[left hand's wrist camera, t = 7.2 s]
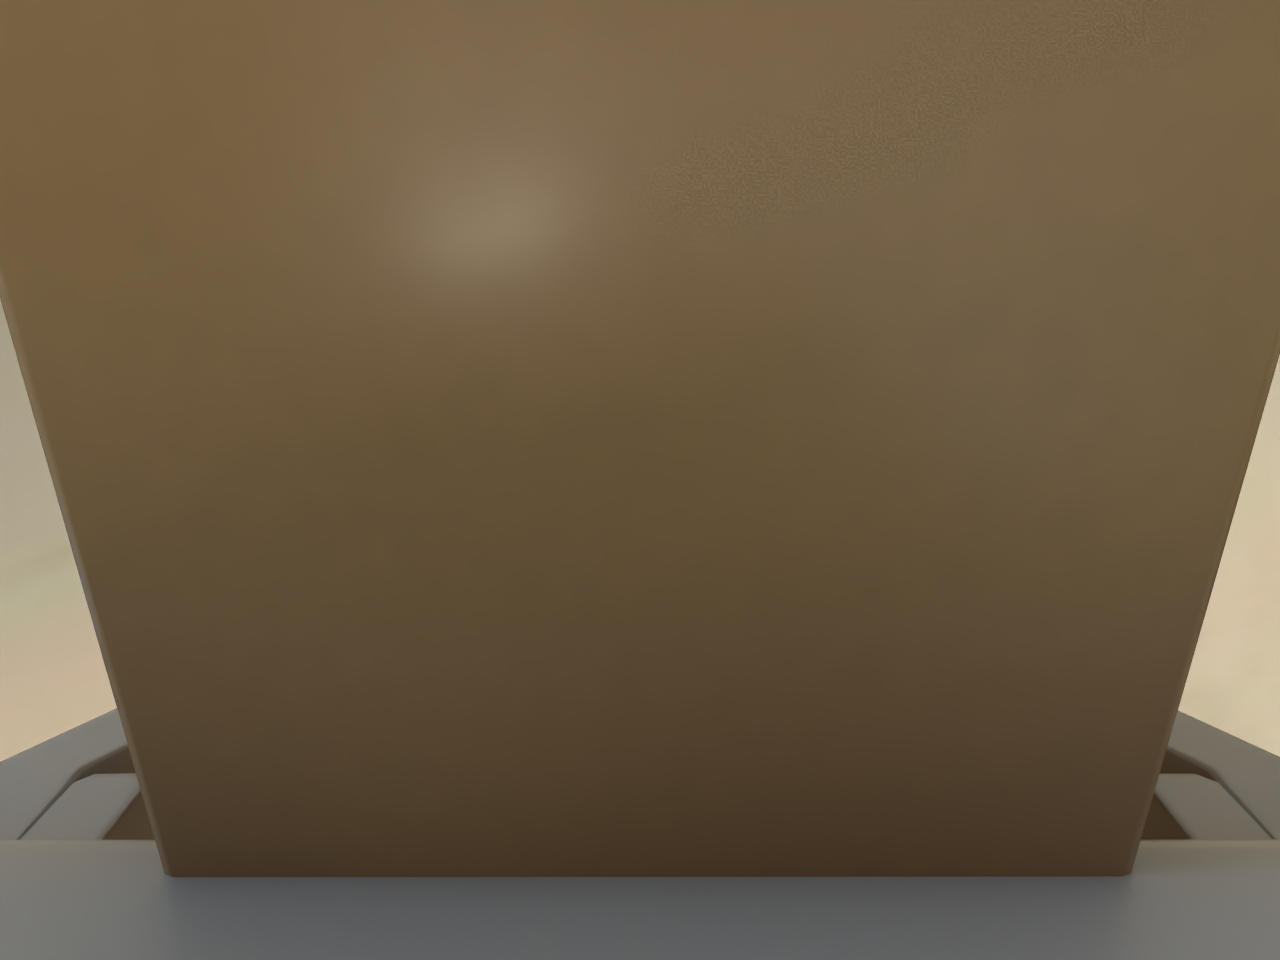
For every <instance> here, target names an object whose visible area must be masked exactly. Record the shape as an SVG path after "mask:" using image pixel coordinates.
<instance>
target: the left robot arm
mask: <svg viewBox="0 0 1280 960" xmlns="http://www.w3.org/2000/svg"><path fill="white" fill-rule="evenodd" d="M0 960H1280V757H1278V756H1276V755H1274V754H1272V753H1270V752H1267V751H1265V750H1263V749H1261V748H1259V747H1257V746H1254V745H1252V744H1250V743H1248V742H1246V741H1243V740H1241V739H1239V738H1237V737H1235V736H1232V735H1230V734H1228V733H1226V732H1224V731H1222V730H1219V729H1217V728H1215V727H1213V726H1211V725H1208V724H1206V723H1204V722H1202V721H1200V720H1198V719H1195V718H1193V717H1191V716H1189V715H1187V714H1184V713H1182V712H1180V711H1177V714H1176V718H1175V721H1174V725H1173V728H1172V732H1171V735H1170V739H1169V742H1168V746H1167V749H1166V753H1165V756H1164V760H1163V763H1162V767H1161V770H1160V774H1159V777H1158V781H1157V784H1156V788H1155V791H1154V795H1153V798H1152V802H1151V805H1150V809H1149V812H1148V816H1147V819H1146V823H1145V826H1144V830H1143V833H1142V837H1141V840H1140V844H1139V847H1138V851H1137V854H1136V858H1135V861H1134V865H1133V868H1132V872H1131V873H1130V874H1127V875H1125V876H1111V877H172V876H169V875H166V874H164V870H163V867H162V863H161V860H160V856H159V853H158V849H157V846H156V842H155V839H154V835H153V831H152V828H151V824H150V821H149V817H148V814H147V810H146V807H145V803H144V800H143V796H142V793H141V789H140V786H139V782H138V779H137V775H136V772H135V768H134V765H133V761H132V758H131V754H130V751H129V747H128V744H127V740H126V737H125V733H124V730H123V726H122V723H121V719H120V716H119V712H118V709H114V710H112V711H110V712H108V713H106V714H104V715H101V716H99V717H97V718H95V719H93V720H90V721H88V722H86V723H84V724H82V725H80V726H77V727H75V728H73V729H71V730H69V731H67V732H64V733H62V734H60V735H58V736H56V737H54V738H51V739H49V740H47V741H45V742H43V743H41V744H38V745H36V746H34V747H32V748H30V749H28V750H25V751H23V752H21V753H19V754H17V755H14V756H12V757H10V758H8V759H6V760H4V761H1V762H0Z"/></svg>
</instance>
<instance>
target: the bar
mask: <svg viewBox="0 0 1280 960" xmlns="http://www.w3.org/2000/svg"><path fill="white" fill-rule="evenodd" d="M0 299H1V302H2V306H3V309H4V313H5V316H6V320H7V323H8V327H9V330H10V334H11V337H12V341H13V344H14V348H15V351H16V355H17V358H18V362H19V365H20V369H21V372H22V376H23V379H24V383H25V386H26V390H27V393H28V397H29V400H30V404H31V407H32V411H33V414H34V418H35V421H36V425H37V428H38V432H39V435H40V439H41V442H42V446H43V449H44V453H45V456H46V460H47V463H48V467H49V470H50V474H51V478H52V481H53V485H54V488H55V492H56V495H57V499H58V502H59V506H60V509H61V513H62V516H63V520H64V523H65V527H66V530H67V534H68V537H69V541H70V544H71V548H72V551H73V555H74V558H75V562H76V565H77V569H78V572H79V576H80V579H81V583H82V586H83V590H84V593H85V597H86V600H87V604H88V607H89V611H90V614H91V618H92V621H93V625H94V628H95V632H96V635H97V639H98V642H99V646H100V649H101V653H102V656H103V660H104V663H105V667H106V670H107V674H108V677H109V681H110V684H111V688H112V691H113V695H114V698H115V702H116V705H117V709H118V712H119V716H120V719H121V723H122V726H123V730H124V733H125V737H126V740H127V744H128V747H129V751H130V754H131V758H132V761H133V765H134V768H135V772H136V775H137V779H138V782H139V786H140V789H141V793H142V796H143V800H144V803H145V807H146V810H147V814H148V817H149V821H150V824H151V828H152V831H153V835H154V839H155V842H156V846H157V849H158V853H159V856H160V860H161V863H162V867H163V870H164V874H166V875H169V876H172V877H1111V876H1125V875H1127V874H1130V873H1131V872H1132V868H1133V865H1134V861H1135V858H1136V854H1137V851H1138V847H1139V844H1140V840H1141V837H1142V833H1143V830H1144V826H1145V823H1146V819H1147V816H1148V812H1149V809H1150V805H1151V802H1152V798H1153V795H1154V791H1155V788H1156V784H1157V781H1158V777H1159V774H1160V770H1161V767H1162V763H1163V760H1164V756H1165V753H1166V749H1167V746H1168V742H1169V739H1170V735H1171V732H1172V728H1173V725H1174V721H1175V718H1176V714H1177V711H1178V707H1179V704H1180V700H1181V697H1182V693H1183V690H1184V686H1185V683H1186V679H1187V676H1188V672H1189V669H1190V665H1191V662H1192V658H1193V655H1194V651H1195V648H1196V644H1197V641H1198V637H1199V634H1200V630H1201V627H1202V623H1203V620H1204V616H1205V613H1206V610H1207V606H1208V603H1209V599H1210V596H1211V592H1212V589H1213V585H1214V582H1215V578H1216V575H1217V571H1218V568H1219V564H1220V561H1221V557H1222V554H1223V550H1224V547H1225V543H1226V540H1227V536H1228V533H1229V529H1230V526H1231V522H1232V519H1233V515H1234V512H1235V508H1236V505H1237V501H1238V498H1239V494H1240V491H1241V487H1242V484H1243V480H1244V477H1245V473H1246V470H1247V466H1248V463H1249V459H1250V456H1251V452H1252V449H1253V445H1254V442H1255V438H1256V435H1257V431H1258V428H1259V424H1260V421H1261V417H1262V414H1263V410H1264V407H1265V403H1266V400H1267V396H1268V393H1269V389H1270V386H1271V382H1272V379H1273V375H1274V372H1275V368H1276V365H1277V361H1278V358H1279V354H1280V0H0Z"/></svg>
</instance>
